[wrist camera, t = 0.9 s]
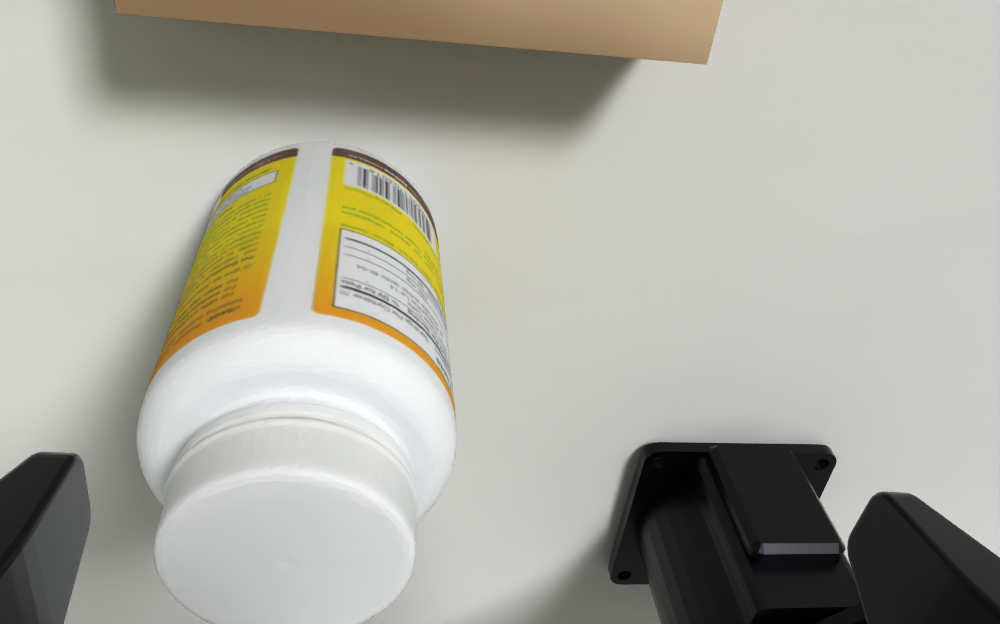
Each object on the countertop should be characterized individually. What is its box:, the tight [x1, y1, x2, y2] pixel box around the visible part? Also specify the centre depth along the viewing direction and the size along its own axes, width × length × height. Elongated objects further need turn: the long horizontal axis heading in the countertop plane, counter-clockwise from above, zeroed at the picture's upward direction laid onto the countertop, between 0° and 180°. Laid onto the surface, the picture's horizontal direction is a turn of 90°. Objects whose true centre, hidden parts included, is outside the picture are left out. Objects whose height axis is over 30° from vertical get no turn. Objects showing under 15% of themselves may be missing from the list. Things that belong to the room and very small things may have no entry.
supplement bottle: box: [136, 142, 456, 624], centre depth 17 cm, size 6×6×10 cm
